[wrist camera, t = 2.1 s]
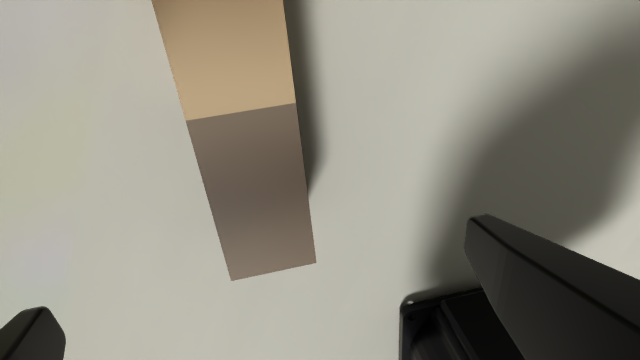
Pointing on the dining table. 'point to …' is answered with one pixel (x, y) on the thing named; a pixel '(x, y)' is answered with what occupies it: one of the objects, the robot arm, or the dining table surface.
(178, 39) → the tan wooden plank
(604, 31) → the dining table surface
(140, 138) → the dining table surface
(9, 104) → the dining table surface
